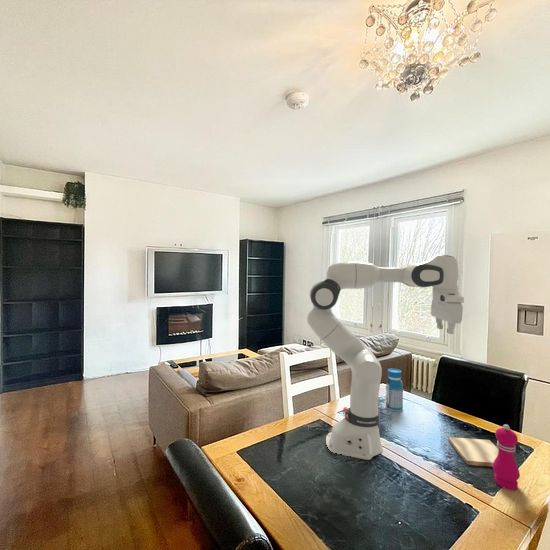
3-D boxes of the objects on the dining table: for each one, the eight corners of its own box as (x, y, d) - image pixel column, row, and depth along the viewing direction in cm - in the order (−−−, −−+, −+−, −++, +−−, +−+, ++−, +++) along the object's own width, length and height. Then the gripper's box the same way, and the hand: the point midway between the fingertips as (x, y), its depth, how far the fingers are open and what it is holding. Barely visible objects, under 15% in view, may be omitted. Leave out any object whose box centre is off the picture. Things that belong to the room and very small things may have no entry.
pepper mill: (524, 492, 97) (525, 431, 97) (499, 489, 99) (500, 429, 99) (511, 477, 105) (512, 420, 104) (488, 475, 106) (489, 418, 106)
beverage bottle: (395, 413, 152) (395, 374, 151) (382, 407, 159) (382, 369, 159) (406, 410, 156) (406, 371, 155) (393, 403, 163) (393, 366, 163)
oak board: (467, 464, 112) (467, 460, 112) (448, 440, 128) (448, 437, 128) (514, 468, 110) (514, 464, 110) (489, 443, 125) (489, 439, 125)
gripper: (426, 294, 129) (426, 326, 130) (447, 298, 109) (447, 336, 109) (442, 294, 128) (442, 326, 129) (466, 298, 108) (466, 336, 108)
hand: (444, 331), depth 119 cm, fingers open, 8 cm apart
